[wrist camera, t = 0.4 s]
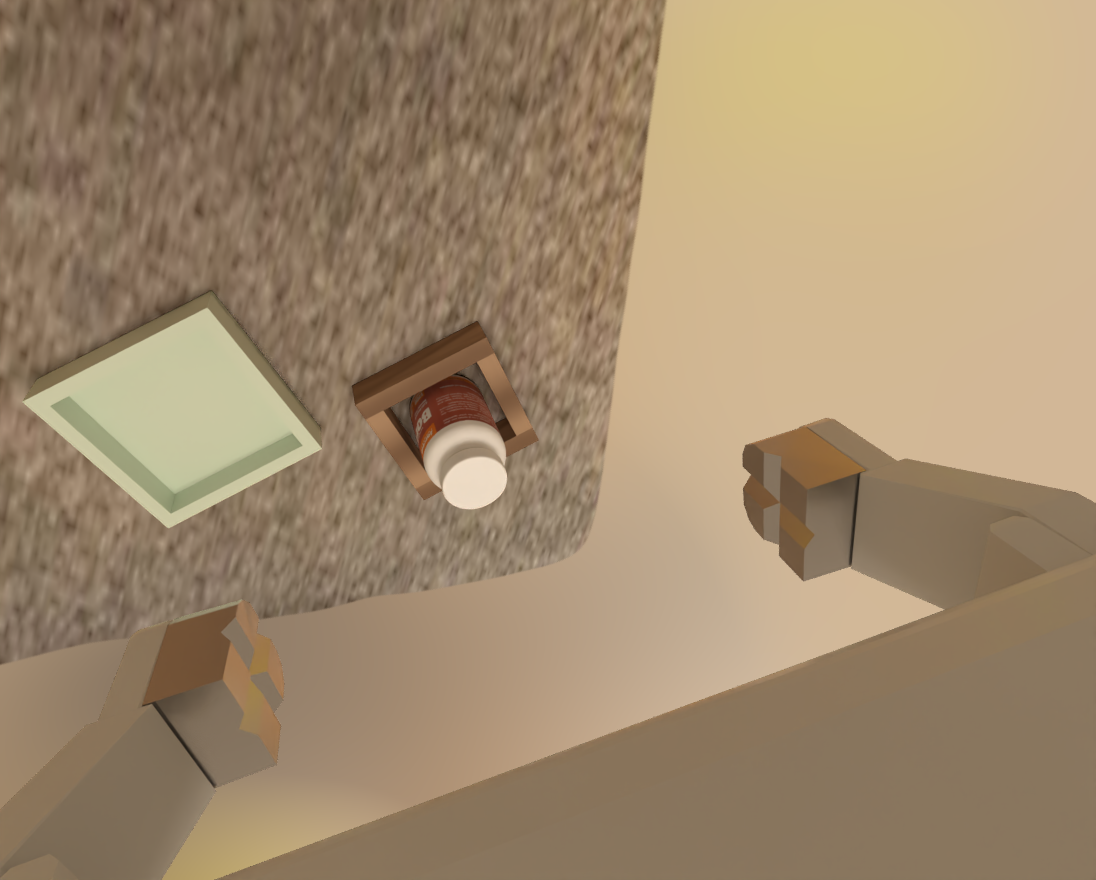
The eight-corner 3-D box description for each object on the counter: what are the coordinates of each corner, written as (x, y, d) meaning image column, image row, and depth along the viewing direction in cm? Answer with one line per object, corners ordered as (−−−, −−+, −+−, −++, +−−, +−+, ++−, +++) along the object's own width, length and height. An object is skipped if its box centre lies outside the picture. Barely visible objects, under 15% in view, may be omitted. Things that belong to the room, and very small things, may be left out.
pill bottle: (405, 376, 52) (428, 454, 43) (481, 367, 54) (517, 440, 45) (412, 441, 55) (434, 525, 47) (483, 430, 57) (517, 509, 48)
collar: (352, 385, 51) (355, 405, 49) (477, 321, 51) (486, 337, 49) (418, 479, 58) (423, 500, 56) (528, 421, 58) (538, 440, 56)
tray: (36, 379, 44) (22, 401, 41) (211, 290, 44) (207, 307, 42) (173, 503, 52) (168, 528, 49) (320, 427, 52) (322, 448, 50)
